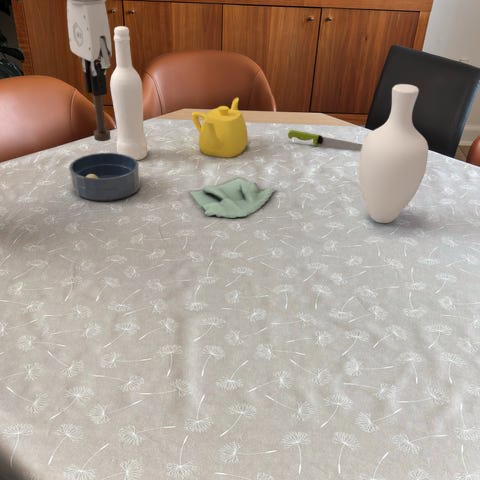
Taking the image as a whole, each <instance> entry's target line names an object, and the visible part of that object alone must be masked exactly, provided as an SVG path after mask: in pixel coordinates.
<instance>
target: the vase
mask: <svg viewBox="0 0 480 480" xmlns="http://www.w3.org/2000/svg"><path fill="white" fill-rule="evenodd" d="M419 91H420V89H419V88H418V86H415V85H413V84H409V83H408V84H407V83H398V84H395V85H394V86H392V88H391V110H390V113H389V116H388V119H387V120H386V121H385V123H384V124H382V125H381V126H379V127H377V128H375V129H373V130H372V131H370V132H369V133H368V134H367V135H366V136H365V138H364V139H363V141H362V144H363V145H362V148H361V149H360V153H359V158H358V163H357V164H358V166H357V172H358V173H357V174H358V185H359V191H360V194H361V197H362V199H363V202H364V204H365V208H366V210H367V212H368V215H369V216H370V218H371V219H372V220H373V221H375V222H376V223H380V224H388V223H392V222H393V221H395V220H396V219H397V218H398V217H399V216H400V214H401V213H402V212H403V211H404V210H405V208H406V207H407V206H408V205H409V204H410V202H411V201H412V200H413V198H414V197H415V195H416V194H417V192H418V190H419V189H420V186H421V184H422V181H423V179H424V177H425V174H426V171H427V170H426V169H427V166H428V165H427V164H428V158H429V145H428V141H427V140H426V138H425V137H424V136H423V135H422V134H421V133H420V132H419V131H418V130H417V129H416V127H415V126H414V123H413V111H414V106H415V103H416V101H417V99H418V95H419V93H420V92H419Z"/></svg>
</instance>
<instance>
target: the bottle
mask: <svg viewBox="0 0 480 480" xmlns="http://www.w3.org/2000/svg"><path fill="white" fill-rule="evenodd" d="M113 33H114V35H113V41H114V49H115V50H114V51H115V61H116V62H115V63H116V66H115V69H114V70H113V72H112V74H111V76H110V80H109V87H110V95H111V100H112V105H113V111H114V112H113V113H114V118H115V119H114V120H115V123H116V125H115V126H116V131H117V138H116V143H115V144H116V151H117V154H124V155H127V156H130V157H132V158H134V159H136V161H140V160H143V159H145V158H147V155H148V150H149V149H148V141H147V139H146V136H145V130H144V100H143V99H144V98H143V96H144V95H143V93H144V92H143V81H142V79H141V77H140V74H139V73H138V72H137V70H136V69H135V68H134V67H133V62H132V52H131V51H132V50H131V45H130V40H131V38H130V29H129V27H127V26H125V25H124V26H123V25H119V26H116V27H114V30H113Z"/></svg>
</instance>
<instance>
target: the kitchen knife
mask: <svg viewBox="0 0 480 480" xmlns="http://www.w3.org/2000/svg"><path fill="white" fill-rule="evenodd" d="M287 137H288V138H289V139H290V140H291V139H292V138H296V139H298V140H300V141H311V140H312V147H314V148H315V147H322V148H330V149H338V150H339V149H340V150H349V151H361V148H362V145H363V143H358V142H352V141H347V140H342V139H337V138H332V137H327V136H322V135H321V134H315V133H311V132H305V131H301V130H296V129H295V130H293V129H290V130H289V131H288V133H287Z"/></svg>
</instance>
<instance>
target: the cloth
mask: <svg viewBox="0 0 480 480" xmlns="http://www.w3.org/2000/svg"><path fill="white" fill-rule="evenodd" d="M202 187H203V188H202V190H197V191H190V194H191V196H192V198H193V199H194V200H195V202H196V203H197V204H198V206H199V207H200V209H201V210H203V211H205V212H204V214H205V216H206V217H216V218H224V219H225V218H226V219H235V218H247V216H249V215H251V214H253V213H255V212H257V211H258V210H259V209H261V208H262V206H264V205H265V204H266V202H268V201H269V199H270V198H271V197H272V195H273V193H274V192H275V191H276V190H275V188H274V187H270V188H269V187H267V188H265V189H264V190H262V189H260V188H259V186H258V185H257V182H255V181H253V182H248V181H246V180H244V179H242V178H236V179H234V180H231V181H228V182H226V183H223V184H221V185H219V186H217V185H209V184H208V185H205V186H202Z"/></svg>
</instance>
